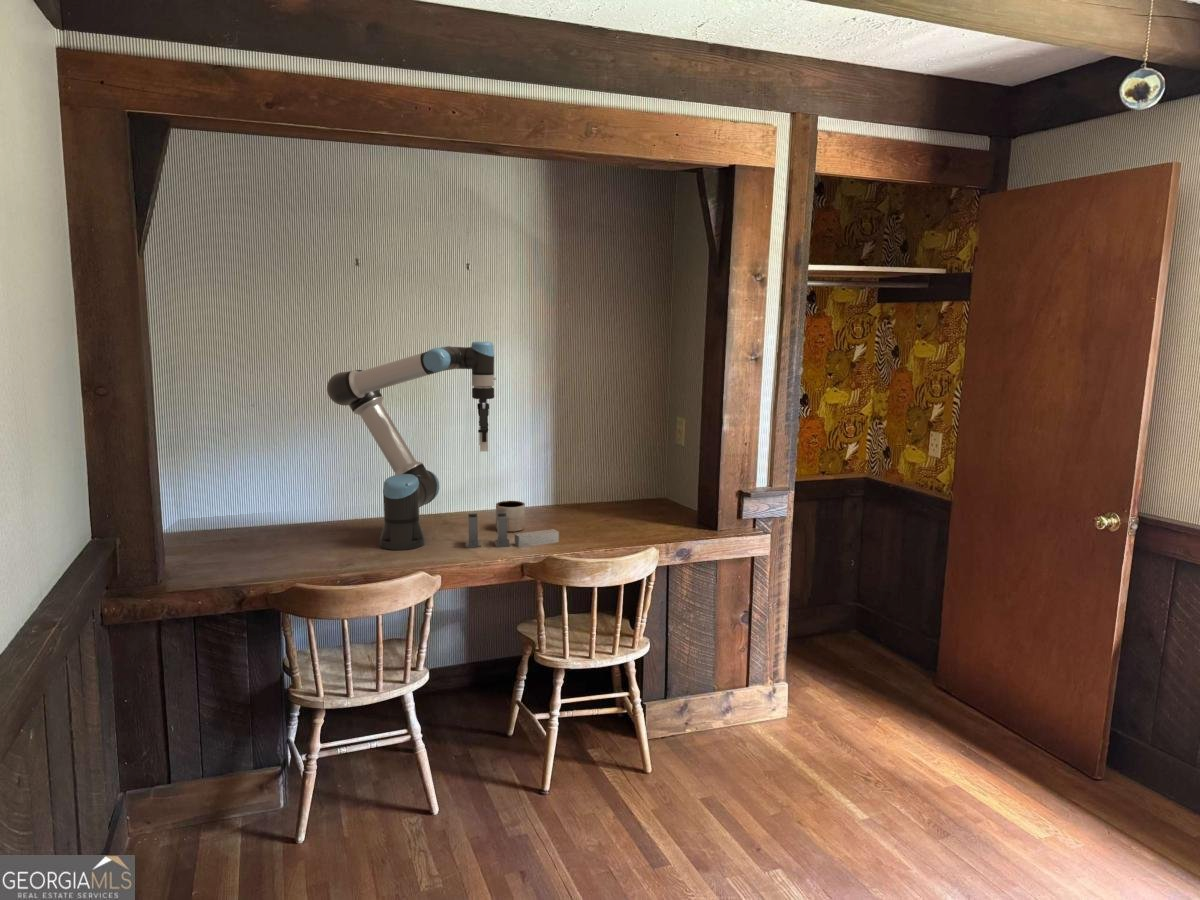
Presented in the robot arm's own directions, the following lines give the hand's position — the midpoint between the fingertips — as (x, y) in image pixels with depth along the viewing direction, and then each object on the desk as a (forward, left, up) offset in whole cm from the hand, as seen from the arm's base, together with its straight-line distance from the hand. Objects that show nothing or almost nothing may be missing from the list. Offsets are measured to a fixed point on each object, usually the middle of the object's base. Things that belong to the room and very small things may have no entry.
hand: (483, 448), depth 276 cm
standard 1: (-4, -7, -33) cm, 34 cm away
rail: (+18, -7, -33) cm, 38 cm away
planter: (+10, +13, -33) cm, 37 cm away
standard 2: (+6, -7, -33) cm, 34 cm away
